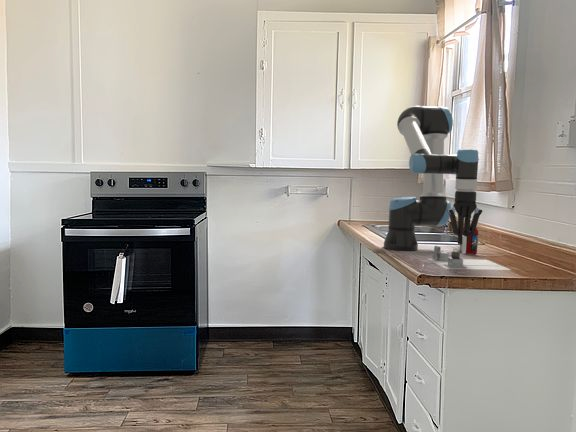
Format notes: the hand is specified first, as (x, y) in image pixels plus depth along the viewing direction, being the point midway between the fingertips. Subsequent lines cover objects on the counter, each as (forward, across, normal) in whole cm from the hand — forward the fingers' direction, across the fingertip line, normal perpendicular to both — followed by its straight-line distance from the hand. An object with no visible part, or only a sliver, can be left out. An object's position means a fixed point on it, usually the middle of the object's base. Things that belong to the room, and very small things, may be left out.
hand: (462, 253), depth 190 cm
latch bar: (0, +3, +2) cm, 4 cm away
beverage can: (+5, -14, -25) cm, 29 cm away
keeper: (+4, +6, -5) cm, 9 cm away
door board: (+5, -1, +2) cm, 5 cm away
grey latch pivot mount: (+4, +6, +8) cm, 11 cm away
